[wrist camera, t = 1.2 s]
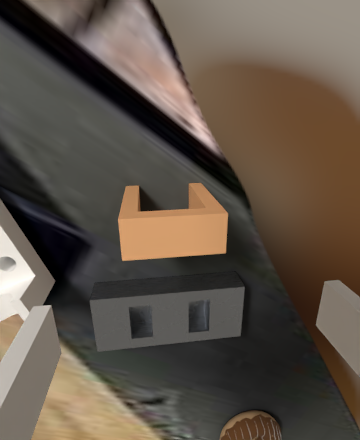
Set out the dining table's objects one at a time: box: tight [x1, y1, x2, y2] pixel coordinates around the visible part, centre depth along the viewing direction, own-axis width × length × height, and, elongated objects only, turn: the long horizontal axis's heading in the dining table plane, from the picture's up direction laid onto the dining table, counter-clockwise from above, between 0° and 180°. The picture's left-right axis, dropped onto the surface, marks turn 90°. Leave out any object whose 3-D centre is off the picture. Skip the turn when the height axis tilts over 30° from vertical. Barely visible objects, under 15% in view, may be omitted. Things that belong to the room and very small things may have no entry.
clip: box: [118, 183, 228, 261], centre depth 26 cm, size 4×8×10 cm, turn 91°
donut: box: [220, 410, 281, 440], centre depth 46 cm, size 11×11×4 cm
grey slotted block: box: [90, 271, 245, 352], centre depth 34 cm, size 8×18×4 cm, turn 91°
